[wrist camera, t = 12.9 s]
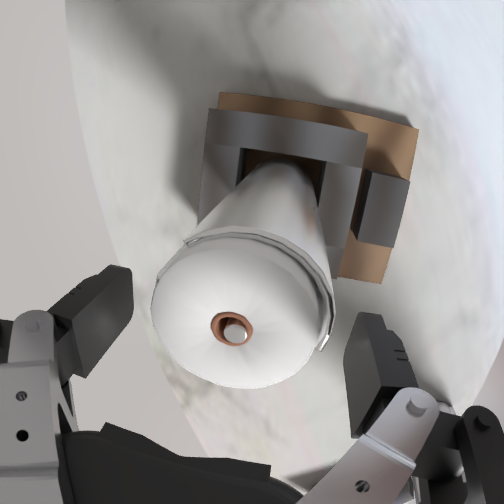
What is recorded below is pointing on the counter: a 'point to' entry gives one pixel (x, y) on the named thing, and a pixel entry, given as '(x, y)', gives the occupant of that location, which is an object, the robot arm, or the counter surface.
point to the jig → (319, 170)
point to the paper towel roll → (250, 283)
